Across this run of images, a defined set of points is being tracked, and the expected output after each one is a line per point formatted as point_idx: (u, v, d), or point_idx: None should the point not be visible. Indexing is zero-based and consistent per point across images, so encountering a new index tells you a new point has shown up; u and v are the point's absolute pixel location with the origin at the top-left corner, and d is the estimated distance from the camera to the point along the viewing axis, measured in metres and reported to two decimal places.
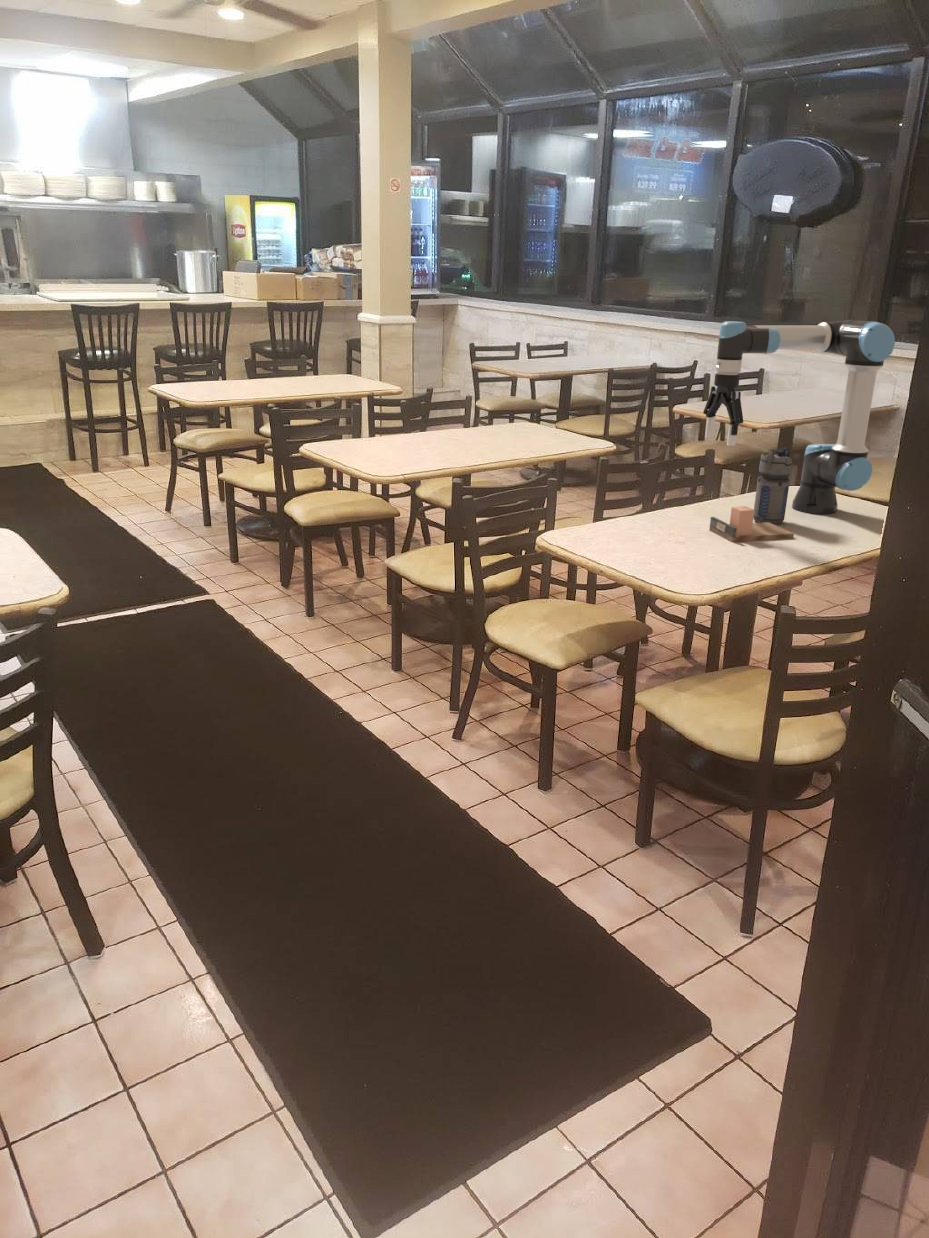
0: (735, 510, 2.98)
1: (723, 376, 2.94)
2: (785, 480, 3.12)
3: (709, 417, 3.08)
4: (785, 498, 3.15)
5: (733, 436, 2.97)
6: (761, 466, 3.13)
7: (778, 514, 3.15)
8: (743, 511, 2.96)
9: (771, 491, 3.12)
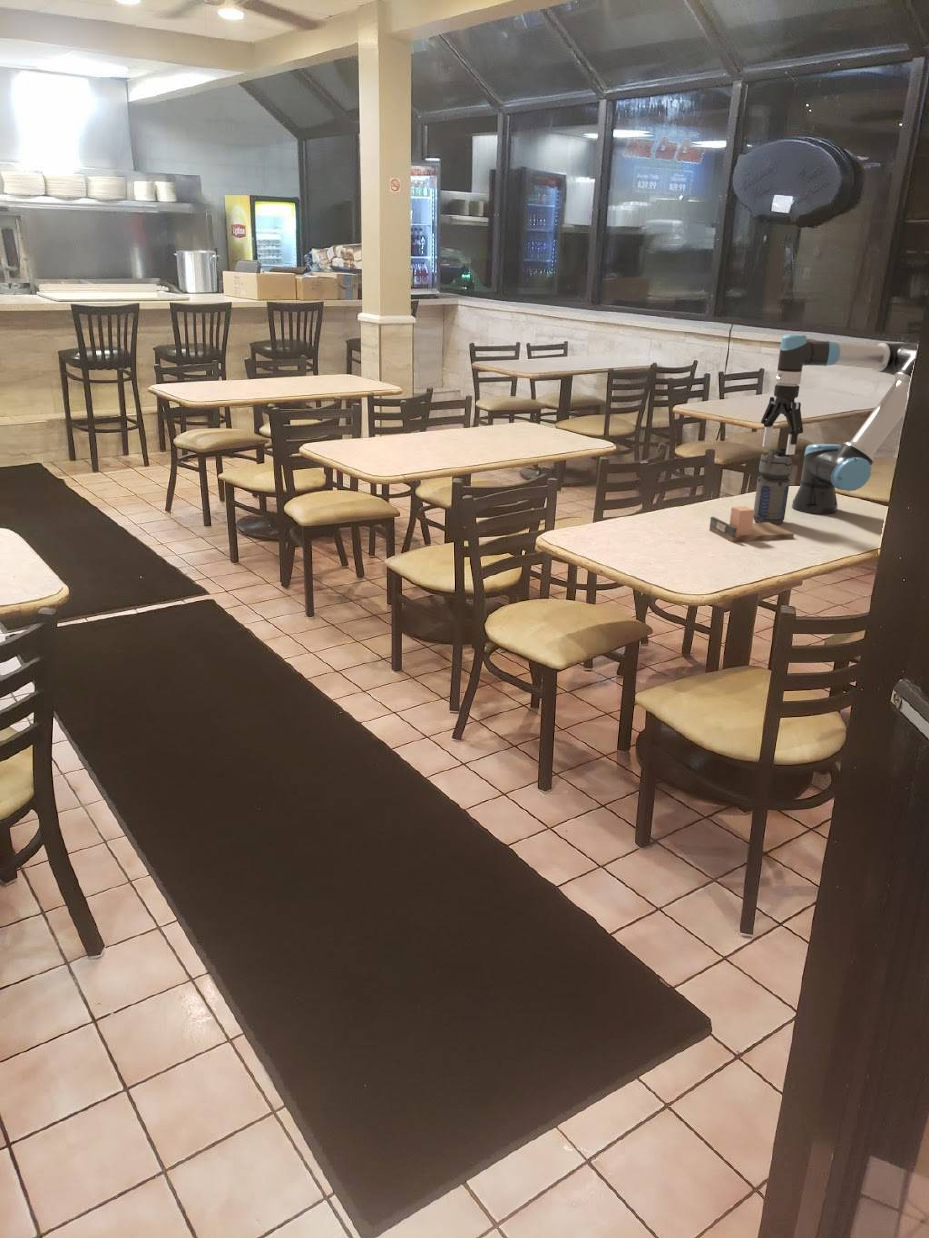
0: (735, 510, 2.98)
1: (783, 387, 3.03)
2: (785, 480, 3.12)
3: (767, 427, 3.17)
4: (785, 498, 3.15)
5: (792, 445, 3.06)
6: (761, 466, 3.13)
7: (778, 514, 3.15)
8: (743, 511, 2.96)
9: (771, 491, 3.12)
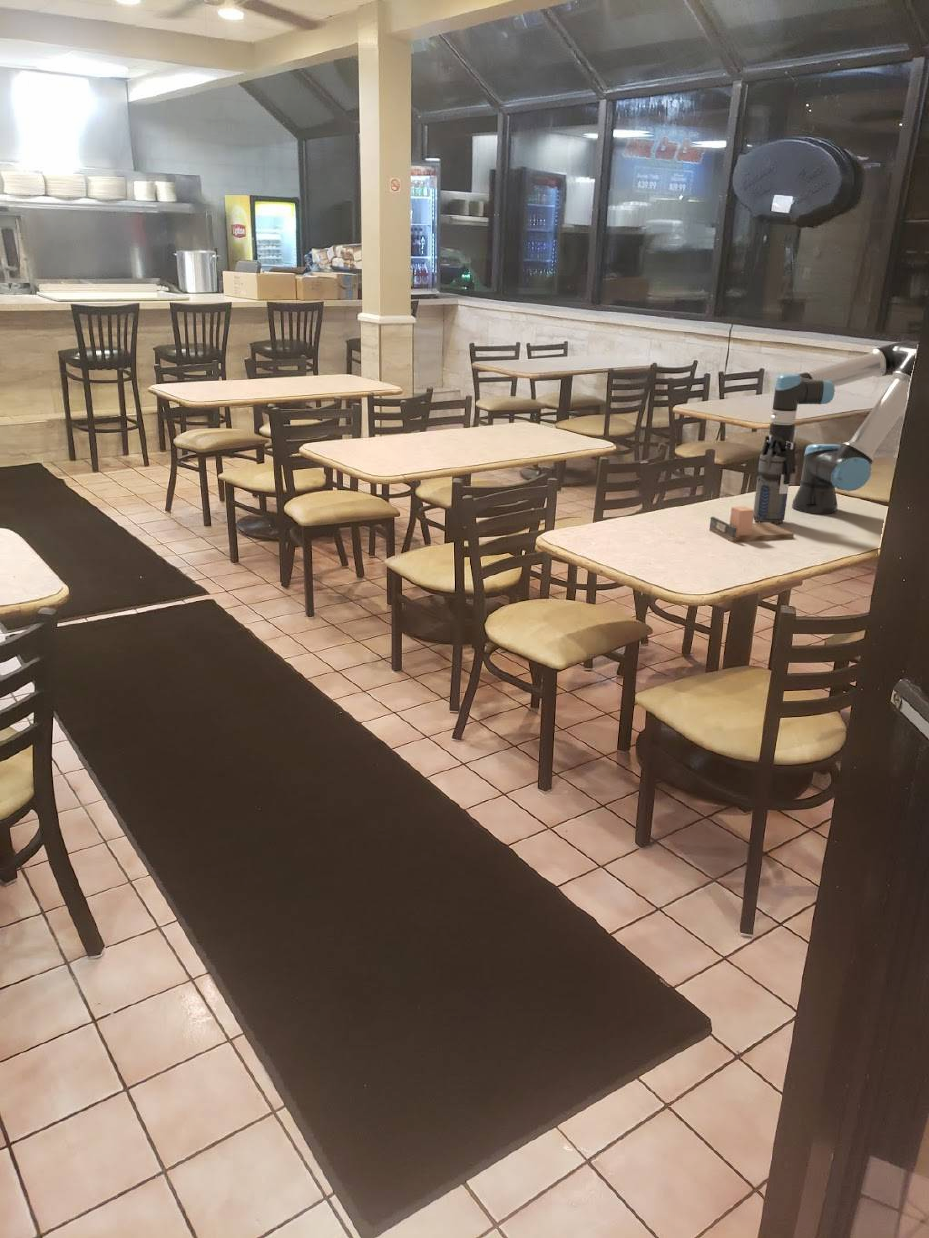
0: (735, 510, 2.98)
1: (778, 426, 3.07)
2: None
3: None
4: (785, 497, 3.15)
5: (785, 485, 3.11)
6: (760, 466, 3.14)
7: (778, 513, 3.15)
8: (743, 511, 2.96)
9: (771, 490, 3.13)
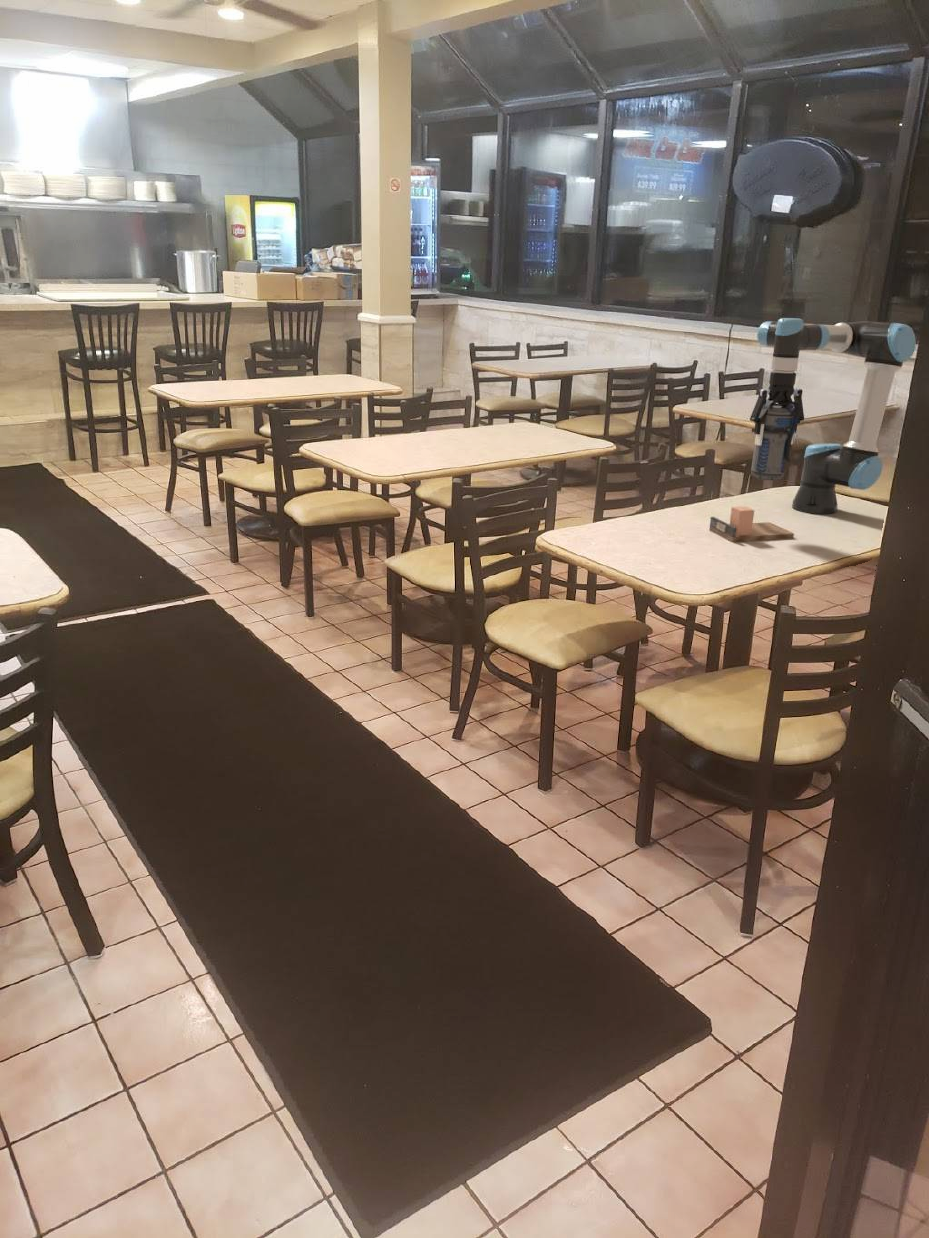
0: (735, 510, 2.98)
1: None
2: (765, 431, 2.94)
3: None
4: (765, 452, 2.95)
5: (758, 436, 2.94)
6: None
7: (754, 466, 2.99)
8: (743, 511, 2.96)
9: None
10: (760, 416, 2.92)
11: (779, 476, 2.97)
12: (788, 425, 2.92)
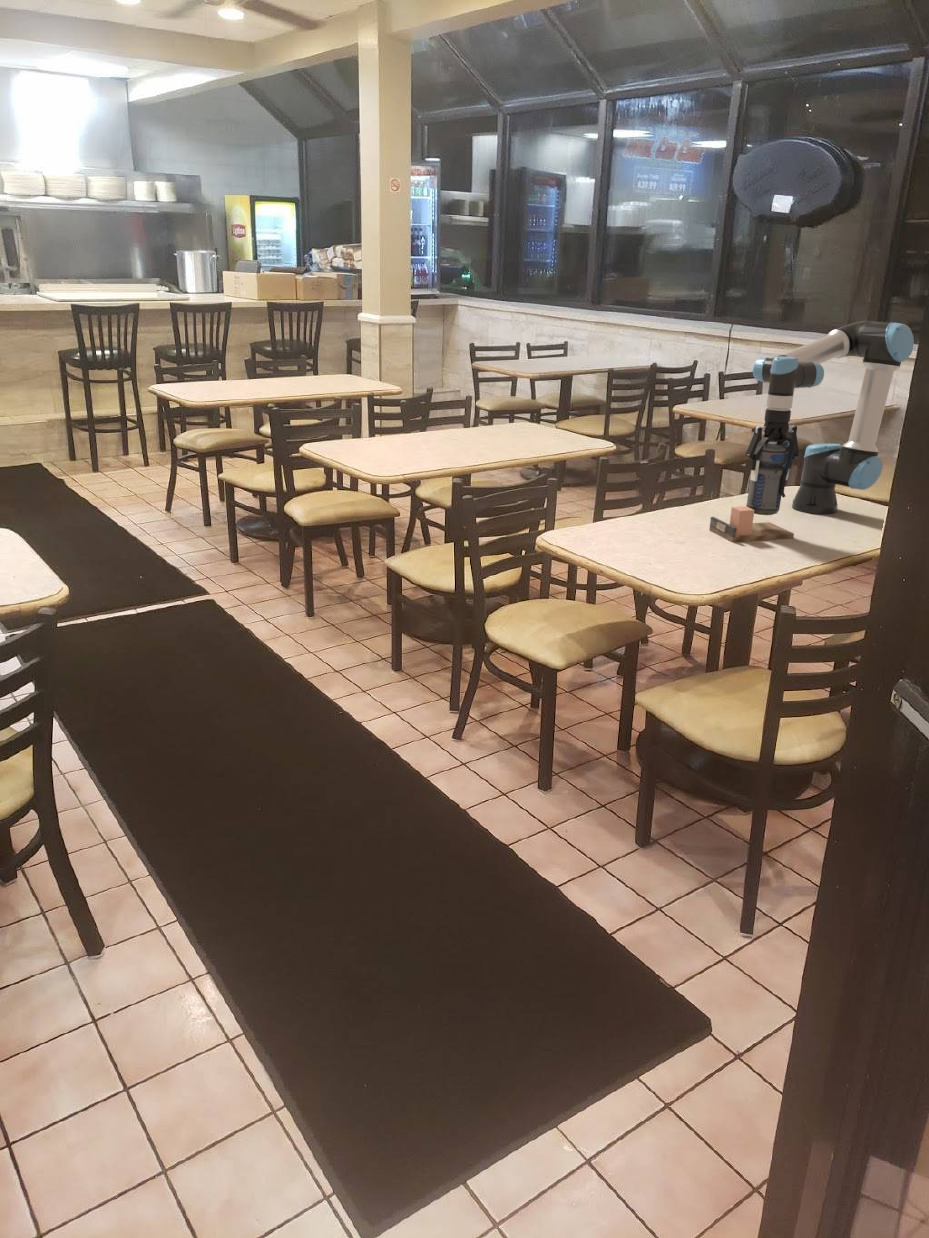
0: (735, 510, 2.98)
1: None
2: (760, 467, 2.97)
3: None
4: (761, 487, 2.98)
5: (754, 471, 2.98)
6: None
7: (750, 501, 3.02)
8: (743, 511, 2.96)
9: None
10: (755, 452, 2.96)
11: (774, 511, 3.01)
12: (783, 461, 2.95)
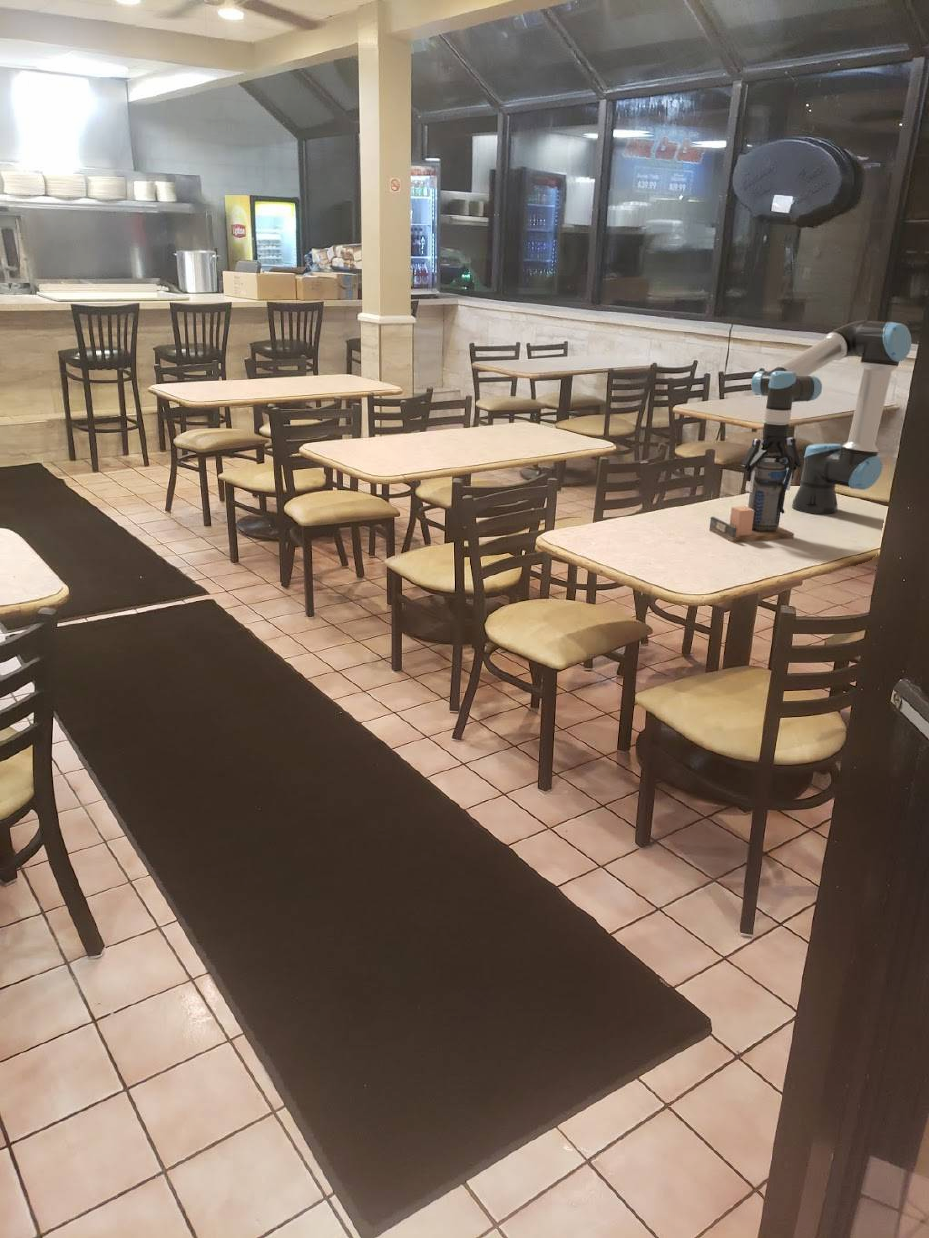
0: (735, 510, 2.98)
1: None
2: (759, 484, 2.99)
3: (788, 468, 3.02)
4: (760, 504, 3.01)
5: (749, 482, 2.99)
6: None
7: None
8: (743, 511, 2.96)
9: None
10: (751, 463, 2.97)
11: (774, 527, 3.03)
12: (782, 478, 2.97)
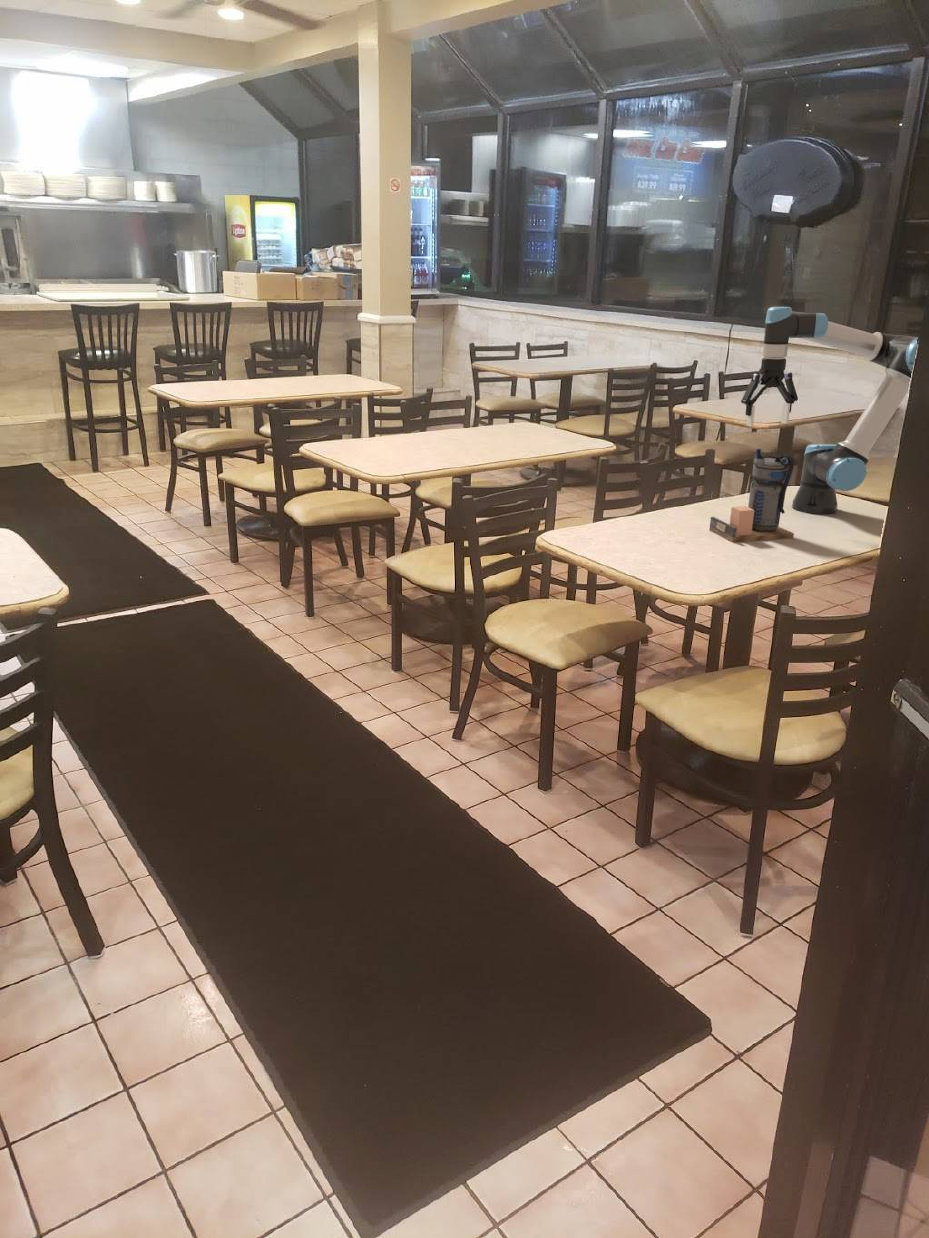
0: (735, 510, 2.98)
1: None
2: (759, 484, 2.99)
3: None
4: (760, 504, 3.01)
5: (749, 417, 3.08)
6: None
7: None
8: (743, 511, 2.96)
9: None
10: (751, 398, 3.06)
11: (774, 527, 3.03)
12: (782, 478, 2.97)
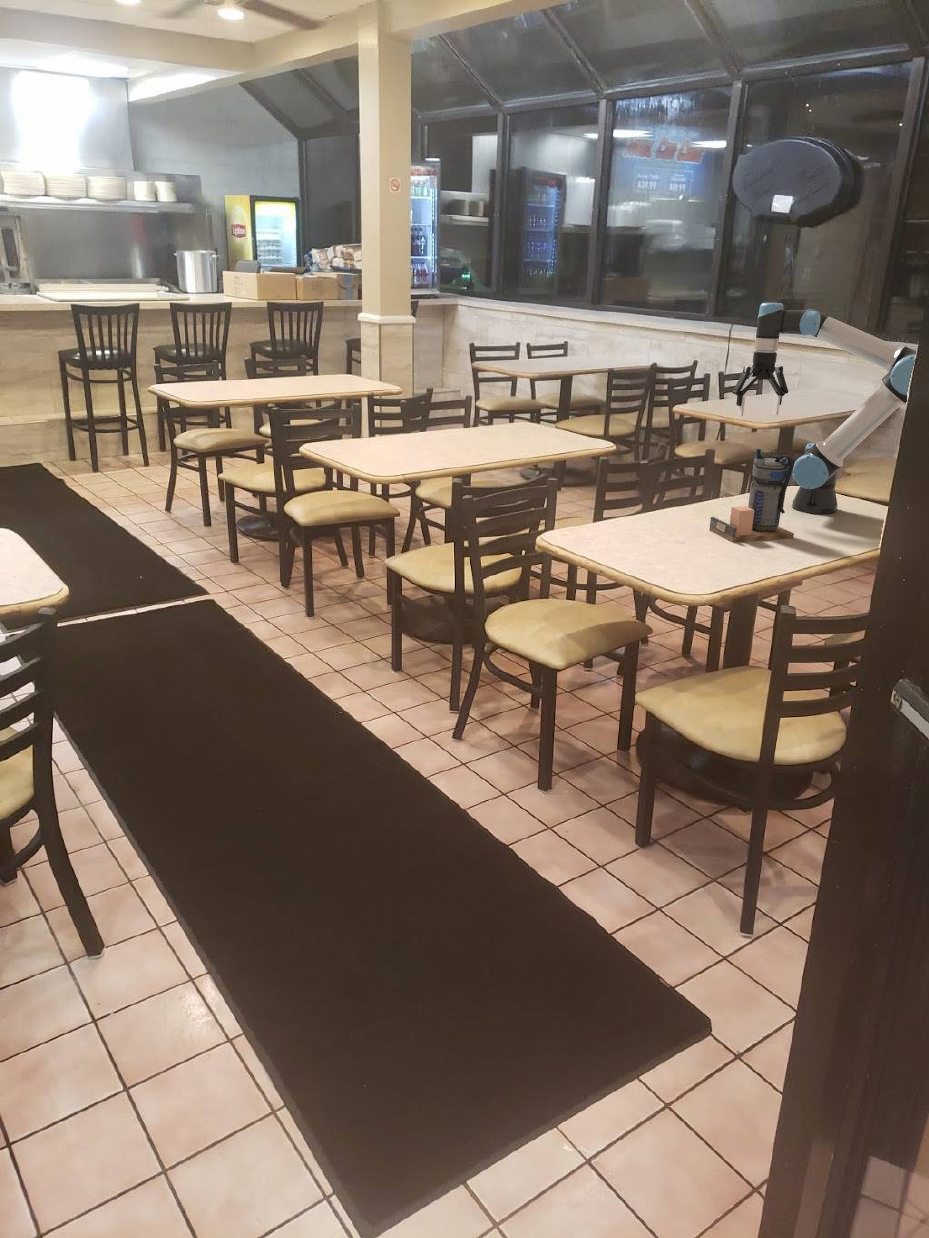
0: (735, 510, 2.98)
1: None
2: (759, 484, 2.99)
3: (776, 395, 3.27)
4: (760, 504, 3.01)
5: (740, 407, 3.24)
6: None
7: None
8: (743, 511, 2.96)
9: None
10: (742, 389, 3.21)
11: (774, 527, 3.03)
12: (782, 478, 2.97)
